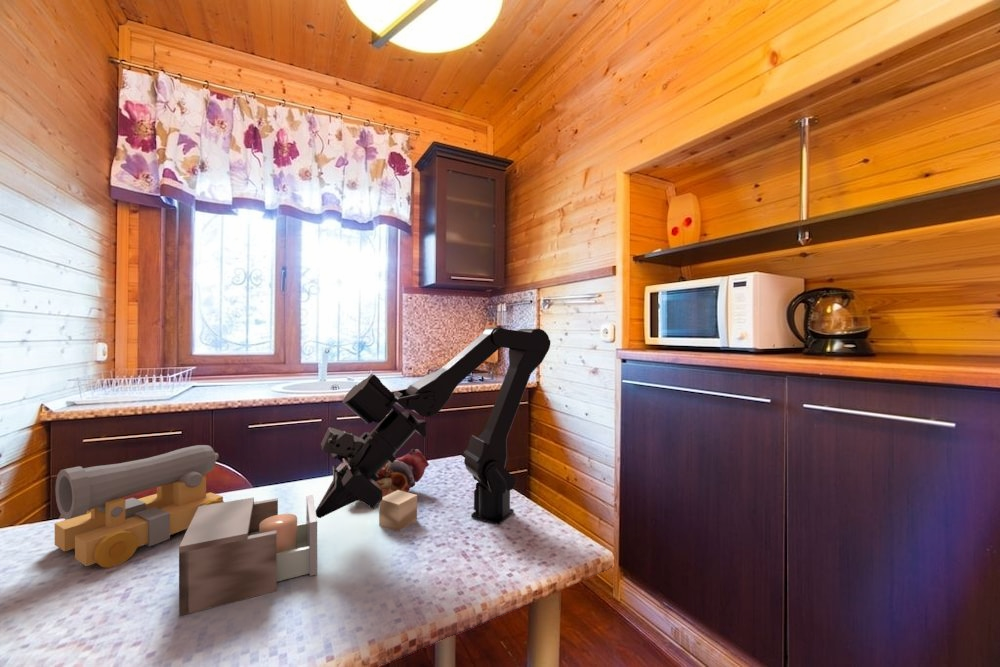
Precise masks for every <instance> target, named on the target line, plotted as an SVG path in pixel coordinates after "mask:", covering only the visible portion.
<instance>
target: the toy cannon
mask: <svg viewBox="0 0 1000 667" xmlns="http://www.w3.org/2000/svg"><path fill="white" fill-rule="evenodd" d="M219 456H220V455H219V453H218V452H215V450H214V449H213V447H212V446H210V444H209V445H208V444H207V445H206V444H201V445H200V444H197V445H192V446H188V447H187V446H186V447H183V448H178V449H175V450H173V451H172V450H171V451H169V452H165V453H162V454H158V455H155V456H151V457H147V458H141V459H136V460H130V461H125V462H121V463H119V462H118V463H113V464H105V465H95V466H90V467H84V468H83V466H80V465H79V466H75V467H69V468H65V469H61V470H60V471H58V473H57V477H56V480H55V489H54V490H55V499H56V500H55V501H56V505H57V509H58V512H59V513H60V516H61V517H62V518H63V519H64V520H61V521H58V522H55V523H54V545H55V546H56V548H59V549H60V550H62V551H63V552H67V551H70V550H73V549H74V559H75V560H77V562H79V563H80V564H82V565H84V566H85V567H88V566H91V565H93V564H97V565H99V566H101V568H108V569H110V568H113V567H116V566H118V565H121V564H123V563H125V562H127V561H128V560H129V559H130V558H131V557H132V556H134V553H136V551H137V549H138V548H139V547H142V546H144V545H145V546H148V547H151V546H155V545H157V544H159V543H161V542H164V541H167V540H169V539H171V535H174V534H177V533H179V532H182V531H185V530H187V529H188V527H189V525H190V523H191V521H192V519H193V517H194V515H195V513H196V511H197V509H198V507H199V506H204V505H210V504H217V503H223V502H225V501H224V497H223V496H222V495H219V494H218V493H217V494H216V493H213V492H207V476H206V475H207V474H208V473H210V472H212V471H213V470H214V469H215V467H216V462H217V460H218V459H219ZM155 488H156V493H155V494H151V495H147V496H144V497H140V498H135V497H131V498H127V499H125V497H128V496H131V495H135V494H138V493H141V492H145V491H147V490H150V489H155Z"/></svg>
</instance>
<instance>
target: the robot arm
mask: <svg viewBox="0 0 1000 667" xmlns="http://www.w3.org/2000/svg"><path fill="white" fill-rule="evenodd" d="M550 347H551V339H550V337H549V334H548V333H547V332H546V331H545V330H543V329H541V328H520V329H517V330H514V329H507V328H504V327H501V326H495V327H493V326H492V327H491V326H490V327H487V328H485V329H484V331H483V332H482V334H480V335H478V337H477V338H475V339H474V340H473V341H472V342H470V343H469V344H468V345H467V346H466V347H465V348H463V350H461V351H460V352H459V353H458V354H456V355H455V356H454V357H453V358H451V360H449V361H448V362H447V363H446V364H445V365H444V366H442V367H441V368H439V369H437V370H436V371H434V372H431V373H429V374H426V375H425V376H423V377H421V378H419V379H418V380H416V381H414V382H413V383H411V384H410V385H409V386H408V387H407V388H403V389H399V390H393V391H391V390H390V389H389V388H388V387H387V386H386V385H385V384H383V382H382V381H381V379H380V378H379V377H378V376H377V375H376V374H373V373H370V375H368V377H366V378H365V379H363V380H361V381H360V382H358V384H355V385H354V386H353V387H352V388H351V389H350V390H349V391H348V392H347V393H346V394H345V396H344V397H343V399H342V404H344V405H345V406H346V407H347V408H349V409H350V410H351V411H352V412H353V413H354V414H355V415H356V416H358V418H360V419H361V420H362V421H363V422H364V423H365V424H366V425H367V424H371V423H374V424H377V426H375V428H374V429H372V431H371V432H369V431H366V432H363V433H362V434H361V435H360V436H357V435H354V434H353V433H352V432H351V433H349V432H346V431H345V430H340V429H337V428H334V427H328V429H327V430H326V432H325V434H324V437H323V438H322V441H321V442H320V446H321V450H322V452H324V453H327V454H330V455H331V456H332V458H333V459H334V460H339V461H340V462H341V463H340V464H339V465H338V466H337V465H336V464H333V465H332V473H333V474H332V481H331V483H330V485H329V486H328V489H327V490H326V492H325V493H324V495H323V497H322V499H321V500H320V503H319V504H318V506H317V507H316V508H315V511H316V516H317V518H318V519H321V518H323V517H325V516H328V515H330V514H332V513H334V512H336V511H337V510H339V509H342V508H344V507H345V506H348V505H350V504H352V503H355V502H357V501H358V500H361V501H360V502H362V503H364V504H365V505H366V506H367V507H369V508H370V509H372V510H375V508H376V507H378V506H379V503H380V502H381V501H382V490H381V488H380V486H379V485H378V483H376V481H377V480H378V479H379V477H378V476H377V474H378V473H379V472H380V470H381V469H382V468H383V467H384V466H385V465H386V464H387V463H388V462H389V461H390V462H391V463H393V462H394V461H395V460H396V459H397V458H396V456H395V455H396V454H397V453H398V451H399V450H400V449H401V448H402V447H403V446H404V445H405V444H406V442H407V441H408V440H410V438H411V437H412V436H413V435H414V433H415V432H416V433H417V434H419V435H420V436H421V437H422V438H427V436H428V435H427V434H428V432H427V421H425V420H424V419H417V417H415V416H414V415H413V414H412V413H411V412H410V411H412V412H414V413H416V414H417V415H419V416H421V417H426V418H431V417H434V416H436V415H437V414H438V413H439V412H440V411H441V410H442V409H443V407H444V406H445V405H446V404H447V403H448V401H450V398H451V397H452V395H453V393H454V391H455V389H456V388H457V387H458V385H460V384H461V383H462V382H463V381H464V380H465V379H466V378H467V377H469V376H470V375H471V374H472V373H473V372H474V371H475V370H476V369H478V368H479V367H480V366H481V365H483V363H484V362H486V361H487V360H488V359H489V358H490V357H491V356H492V355H493V354H494V353H496V352H497V351H498V350H499V349H500V348H503V349H504V348H505V349H508V368H507V371H506V373H505V376H504V378H503V381H502V383H501V386H500V389H499V392H498V394H497V397H496V399H495V402H494V405H493V407H492V410H491V412H490V415H489V417H488V420H487V423H486V425H485V428H484V430H483V431H482V432H481V433H480V434H479V435H478V436H475V435H471V436H470V438H469V441H468V445H467V447H466V449H465V451H463V455H464V465H465V468H466V471H468V472H469V473H470V474H471V475H472V478H473V480H475V481H476V483H475V489H474V491H473V510H474V511H473V512H471V514H470V516H471V518H473V519H477V520H480V521H483V522H487V523H491V524H494V525H500V524H502V523H503V522H504V521H505V520H506V519H507V518H509V517H510V516H511V515H513V514H514V513H515V510H514V509H513V508H511V491H512V490H514V487H515V485H516V484H515V483H516V481H517V480H516V479H517V478H516V477H515V476H513V475H512V473H510V472H509V471H508V470H507V469H506V464H507V458H508V447H507V446H508V443H507V439H508V436H509V433H510V430H511V428H512V425H513V423H514V420H515V417H516V414H517V412H518V409H519V407H520V404H521V401H522V399H523V396H524V393H525V391H526V387H527V385H528V384H529V383H528V382H529V380H530V377H531V374H532V373H533V372H534V371H535V370H536V369H537V368H538V367H539V365H541V364H542V363H543V361H544V359H545V358H546V355H547V354H548V352H549V350H550ZM395 404H396V405H397V406H400V407H401V408H403V409H404V410H405V411H402V412H401V411H400V410H398V408H397V407H396V406H395Z"/></svg>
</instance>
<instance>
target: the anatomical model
mask: <svg viewBox="0 0 1000 667" xmlns="http://www.w3.org/2000/svg"><path fill="white" fill-rule="evenodd" d="M429 466H430V463H429V462H428V460H427V459H426V457H425V456H424V454H423V453H422V452H421V450H420V449H418V448H416V449H414V448H412V449H411V450H410V451H409V452H408V453H406V454H404V455H403V456H401V457H397V458H396V460H395V461H394V462H393V463H391V462H390V461H389V462H388V463H387V464H386V465H385V466H384V467H383V468H382V469H381V470H380V472H379V473H378V474H377V476H378V477H379V479H378V480H377V481H376V483H378V485H379V486H380V488H381V490H382V497H384V496H386V495H388V494H390V493H393V492H395V491H397V490H400V491H404V492H408V493H409V490H410V489H411V488H413V487H415V485H416V483H418V482H419V481H420V480H421V479H422V478H423V476H424V474H425V470H426V468H427V467H429ZM358 501H360V502H362V501H361V500H358Z"/></svg>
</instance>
